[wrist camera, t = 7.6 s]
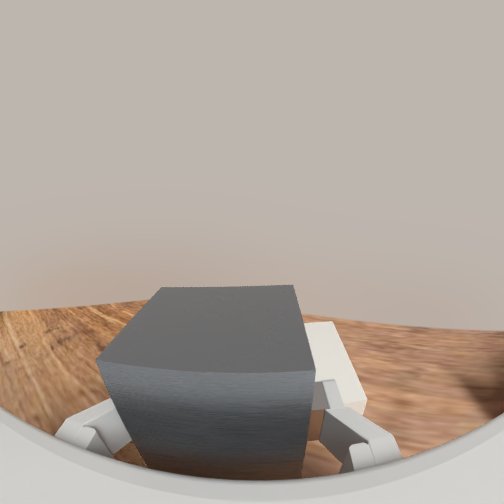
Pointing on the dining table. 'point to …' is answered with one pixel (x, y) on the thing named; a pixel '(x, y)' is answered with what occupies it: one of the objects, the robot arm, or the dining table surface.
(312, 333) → the white rectangular frame
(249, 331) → the grey metal block
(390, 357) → the dining table surface
